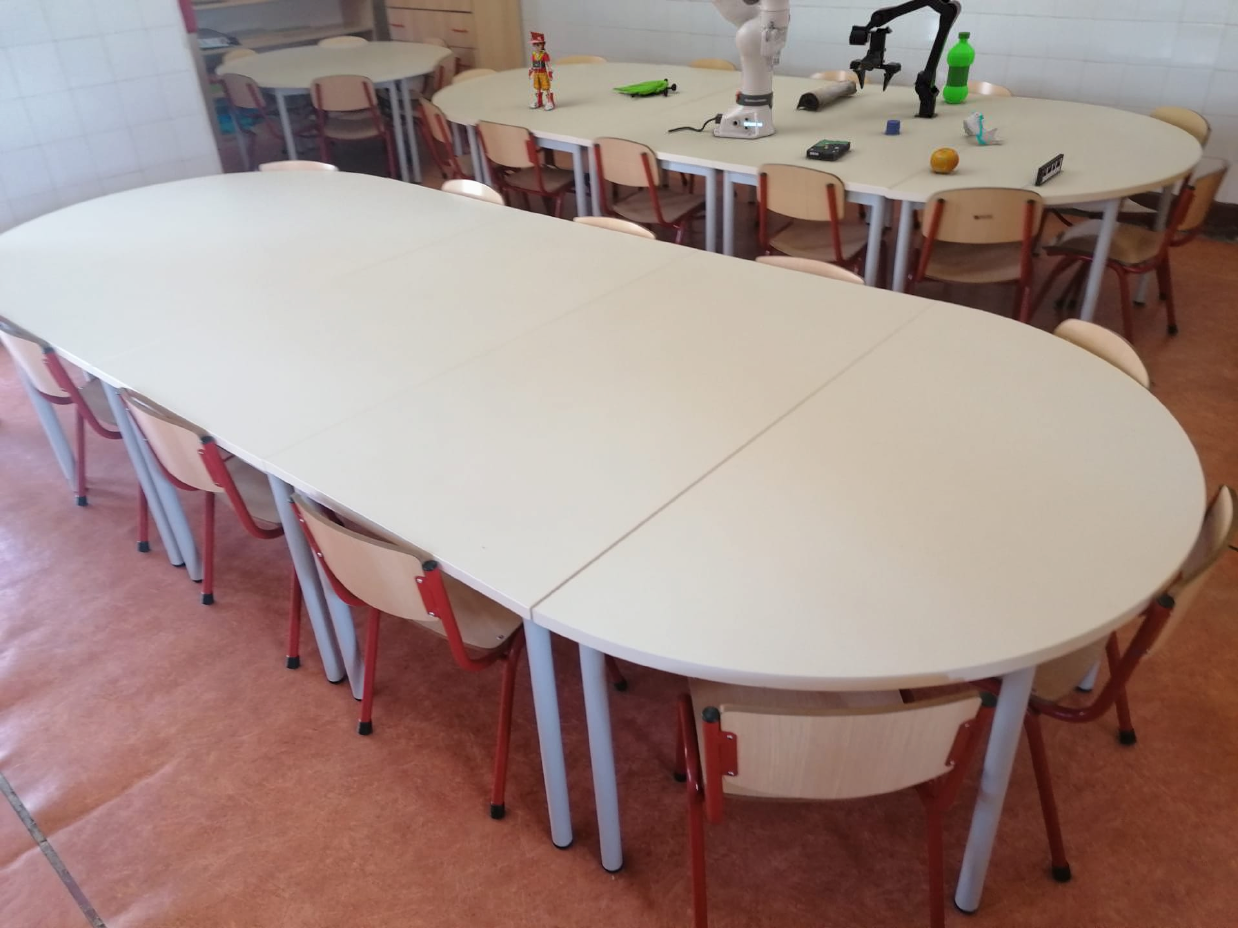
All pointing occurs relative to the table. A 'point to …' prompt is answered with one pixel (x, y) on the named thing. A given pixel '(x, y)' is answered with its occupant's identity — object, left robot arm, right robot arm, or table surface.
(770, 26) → the left robot arm
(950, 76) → the plastic bottle
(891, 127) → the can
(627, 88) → the toy
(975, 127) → the anatomical model
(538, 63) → the toy
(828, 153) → the disk drive
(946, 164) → the fruit
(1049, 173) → the midi keyboard
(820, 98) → the rolled mat
